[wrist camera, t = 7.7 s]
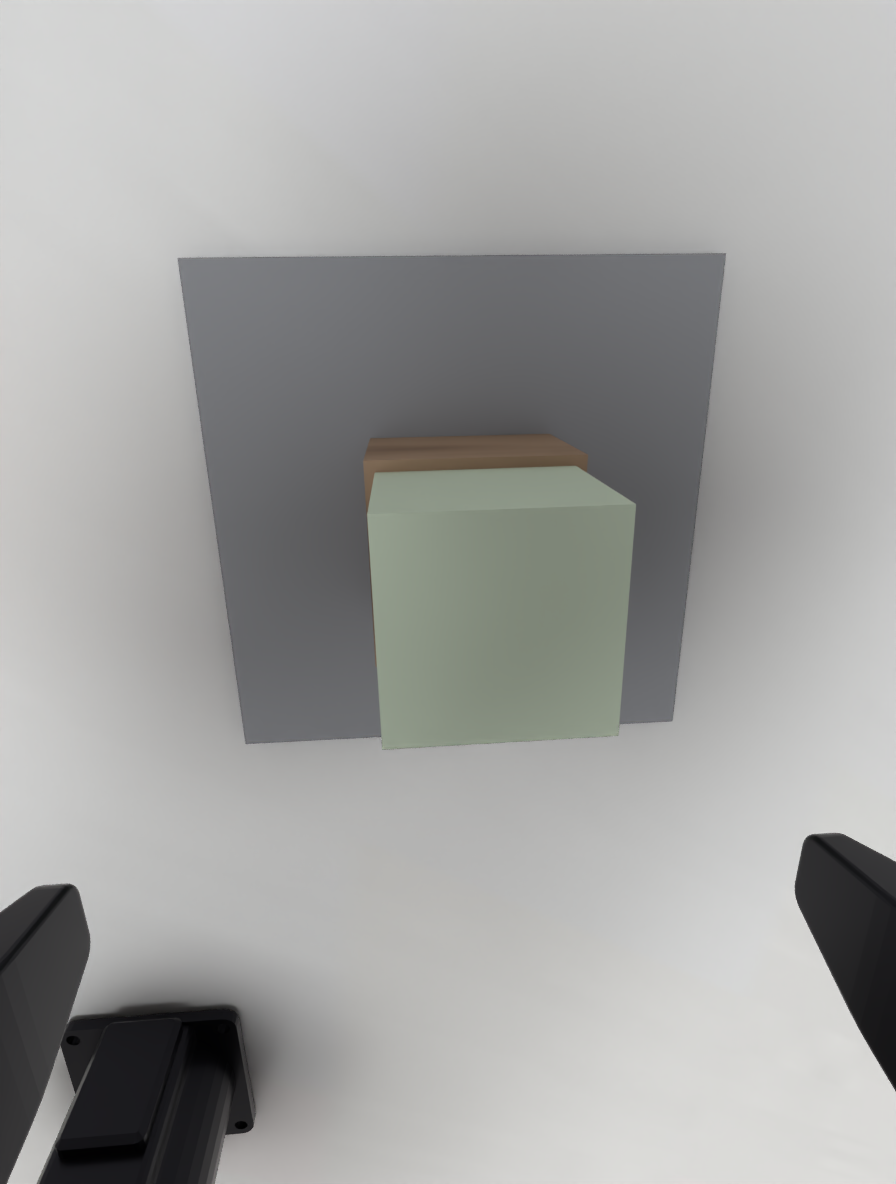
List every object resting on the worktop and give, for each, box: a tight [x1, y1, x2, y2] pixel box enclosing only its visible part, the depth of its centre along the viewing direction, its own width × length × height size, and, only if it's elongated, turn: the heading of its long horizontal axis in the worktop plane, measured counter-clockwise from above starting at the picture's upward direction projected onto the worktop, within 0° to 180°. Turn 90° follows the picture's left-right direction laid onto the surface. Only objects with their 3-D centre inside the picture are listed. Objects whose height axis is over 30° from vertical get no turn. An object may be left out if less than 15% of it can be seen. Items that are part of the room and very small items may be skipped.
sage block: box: [367, 466, 636, 750], centre depth 14 cm, size 4×4×4 cm
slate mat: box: [178, 253, 726, 744], centre depth 19 cm, size 14×14×1 cm
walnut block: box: [363, 434, 588, 667], centre depth 17 cm, size 5×5×4 cm
